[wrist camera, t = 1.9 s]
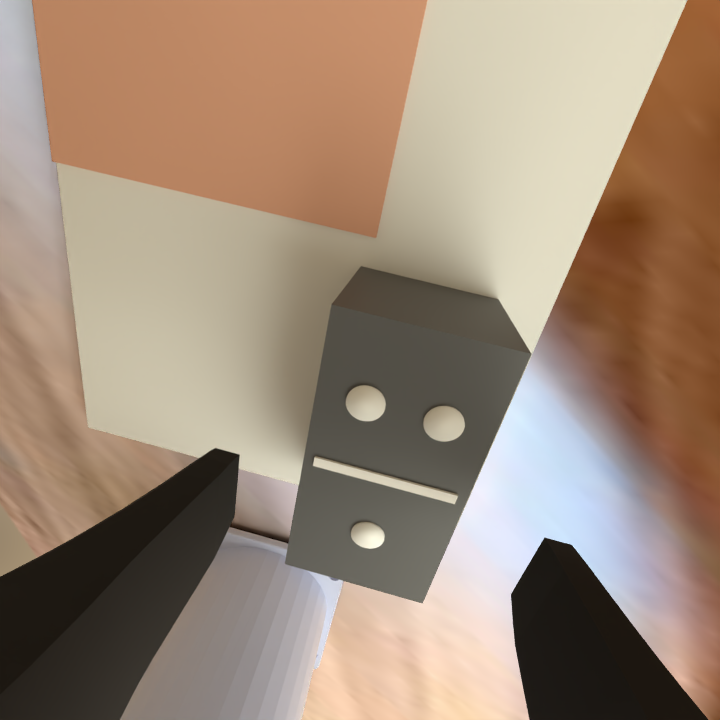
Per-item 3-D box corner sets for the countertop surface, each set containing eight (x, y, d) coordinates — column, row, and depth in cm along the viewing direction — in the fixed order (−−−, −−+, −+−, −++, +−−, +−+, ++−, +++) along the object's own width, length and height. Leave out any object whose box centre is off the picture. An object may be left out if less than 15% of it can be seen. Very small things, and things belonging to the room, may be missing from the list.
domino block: (423, 500, 17) (422, 605, 13) (318, 472, 17) (283, 565, 13) (498, 299, 13) (532, 355, 9) (361, 266, 13) (330, 305, 9)
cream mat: (454, 517, 18) (455, 531, 17) (97, 420, 18) (85, 429, 18) (751, -174, 9) (779, -204, 8) (22, -299, 9) (-10, -336, 9)
